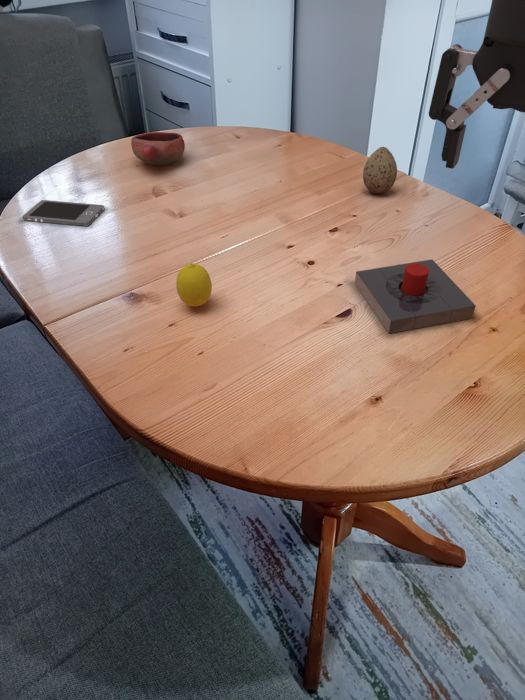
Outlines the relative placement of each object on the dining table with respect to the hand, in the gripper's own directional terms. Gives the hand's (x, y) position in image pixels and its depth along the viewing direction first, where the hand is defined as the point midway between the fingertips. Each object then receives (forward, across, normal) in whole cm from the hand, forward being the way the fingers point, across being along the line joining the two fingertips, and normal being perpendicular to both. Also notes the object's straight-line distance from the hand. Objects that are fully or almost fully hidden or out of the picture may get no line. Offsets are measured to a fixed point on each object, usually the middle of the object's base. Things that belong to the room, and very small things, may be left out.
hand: (495, 173), depth 52 cm
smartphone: (+30, +83, -13) cm, 90 cm away
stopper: (+30, +10, -18) cm, 37 cm away
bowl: (+30, +81, -43) cm, 97 cm away
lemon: (+30, +40, 0) cm, 50 cm away
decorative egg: (+30, +30, -54) cm, 68 cm away
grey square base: (+30, +10, -18) cm, 37 cm away
